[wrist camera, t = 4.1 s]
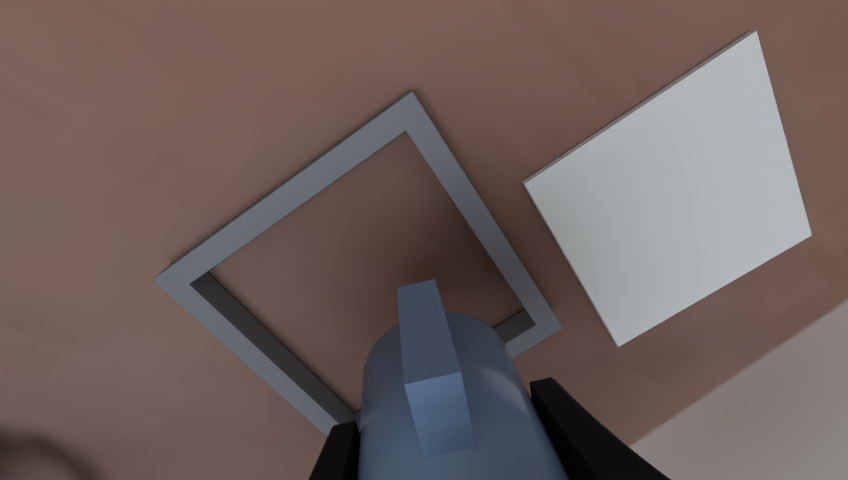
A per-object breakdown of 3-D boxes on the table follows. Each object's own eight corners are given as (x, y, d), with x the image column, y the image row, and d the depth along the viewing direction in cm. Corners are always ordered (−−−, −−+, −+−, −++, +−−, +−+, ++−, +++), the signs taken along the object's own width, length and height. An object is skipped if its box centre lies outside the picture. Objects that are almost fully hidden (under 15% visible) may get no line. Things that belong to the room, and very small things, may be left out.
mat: (803, 232, 20) (811, 235, 20) (614, 342, 22) (618, 347, 21) (747, 32, 17) (756, 30, 16) (521, 182, 18) (524, 183, 18)
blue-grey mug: (517, 414, 14) (609, 635, 8) (382, 445, 14) (383, 691, 8) (493, 243, 11) (602, 396, 6) (328, 279, 11) (278, 470, 6)
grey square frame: (550, 311, 21) (563, 328, 19) (350, 432, 22) (348, 456, 21) (409, 90, 16) (412, 91, 15) (170, 264, 18) (152, 280, 16)
